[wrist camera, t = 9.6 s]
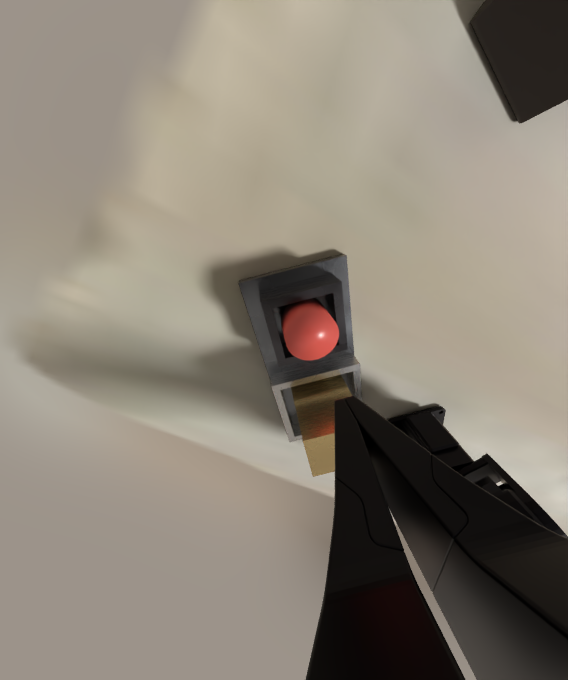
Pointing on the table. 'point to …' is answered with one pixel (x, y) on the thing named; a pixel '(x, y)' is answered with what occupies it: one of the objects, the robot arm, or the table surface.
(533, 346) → the table surface
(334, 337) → the red rounded part
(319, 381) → the billet
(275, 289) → the ball holder tray
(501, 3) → the phone stand
